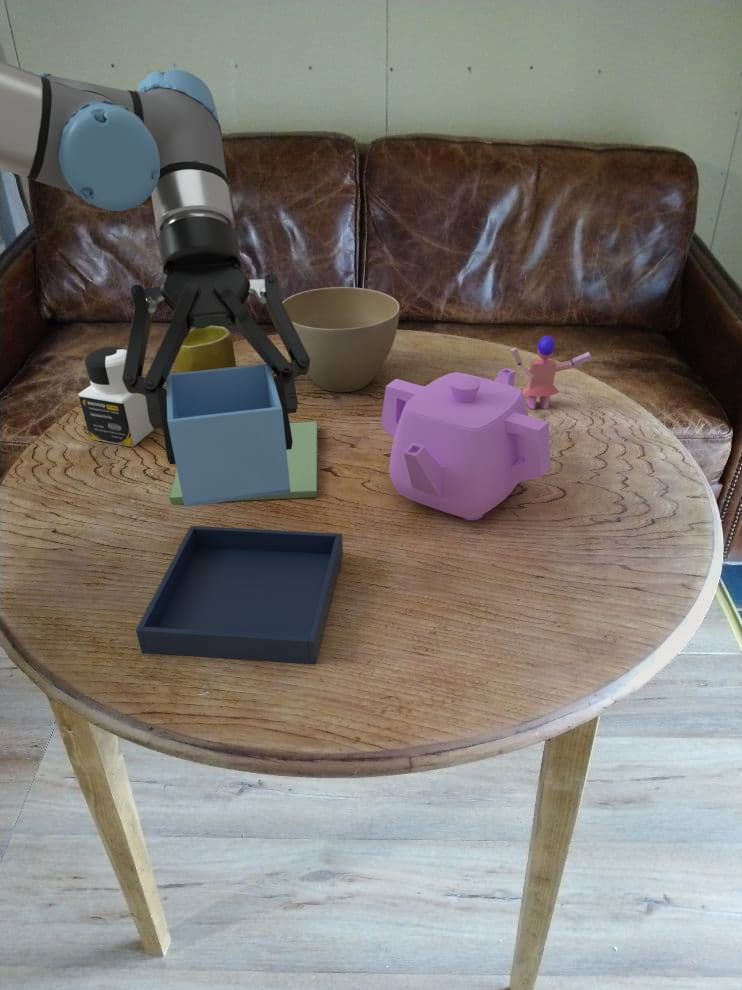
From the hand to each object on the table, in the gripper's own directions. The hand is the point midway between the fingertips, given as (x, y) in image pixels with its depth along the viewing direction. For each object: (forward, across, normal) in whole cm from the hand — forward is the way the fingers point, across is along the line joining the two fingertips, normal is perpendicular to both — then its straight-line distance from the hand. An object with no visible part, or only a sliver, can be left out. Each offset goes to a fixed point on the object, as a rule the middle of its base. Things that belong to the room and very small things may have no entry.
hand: (231, 453), depth 75 cm
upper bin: (+1, 0, -5) cm, 5 cm away
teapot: (+3, -27, -21) cm, 35 cm away
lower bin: (+13, 0, -11) cm, 17 cm away
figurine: (-11, -47, -35) cm, 59 cm away
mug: (-26, +2, -50) cm, 56 cm away
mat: (-7, -2, -31) cm, 32 cm away
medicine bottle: (-16, +14, -40) cm, 45 cm away
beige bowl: (-22, -19, -46) cm, 54 cm away
